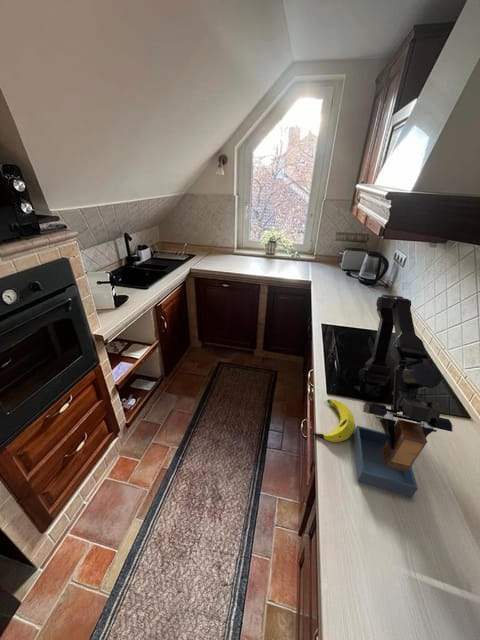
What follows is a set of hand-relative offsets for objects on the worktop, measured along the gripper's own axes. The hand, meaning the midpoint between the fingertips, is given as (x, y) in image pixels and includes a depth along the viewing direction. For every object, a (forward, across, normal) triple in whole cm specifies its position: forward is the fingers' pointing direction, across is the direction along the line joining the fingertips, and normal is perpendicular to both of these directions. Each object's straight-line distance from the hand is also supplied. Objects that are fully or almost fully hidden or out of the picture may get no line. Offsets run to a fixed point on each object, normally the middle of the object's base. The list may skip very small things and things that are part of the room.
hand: (403, 451), depth 63 cm
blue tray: (+6, -1, +13) cm, 14 cm away
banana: (-2, -14, +21) cm, 25 cm away
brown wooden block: (+3, 0, +5) cm, 6 cm away
